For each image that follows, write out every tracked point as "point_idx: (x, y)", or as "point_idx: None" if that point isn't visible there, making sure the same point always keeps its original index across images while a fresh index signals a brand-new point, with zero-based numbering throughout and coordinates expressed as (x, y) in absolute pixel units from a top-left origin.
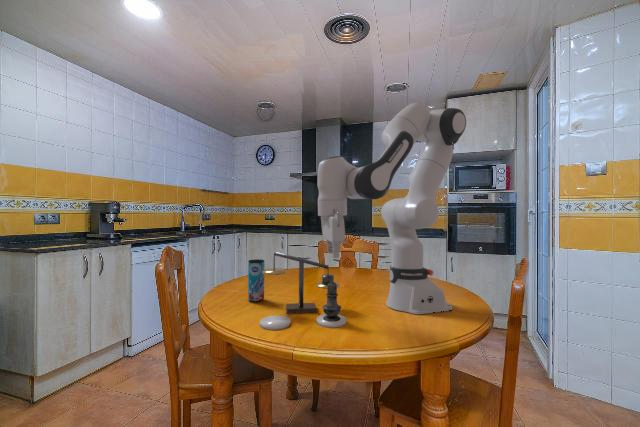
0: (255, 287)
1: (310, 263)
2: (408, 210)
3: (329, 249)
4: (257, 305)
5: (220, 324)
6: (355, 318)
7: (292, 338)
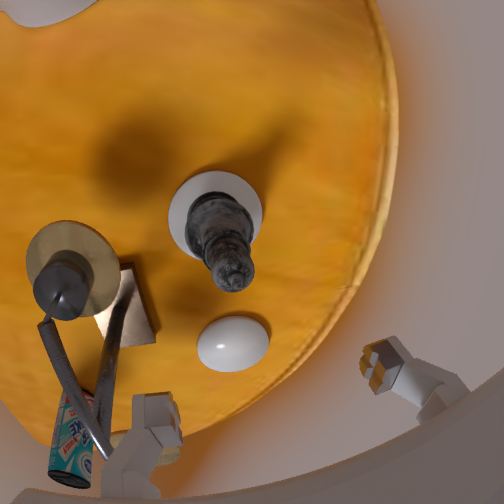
0: None
1: (89, 405)
2: None
3: (180, 431)
4: None
5: (234, 410)
6: (178, 136)
7: (314, 297)
